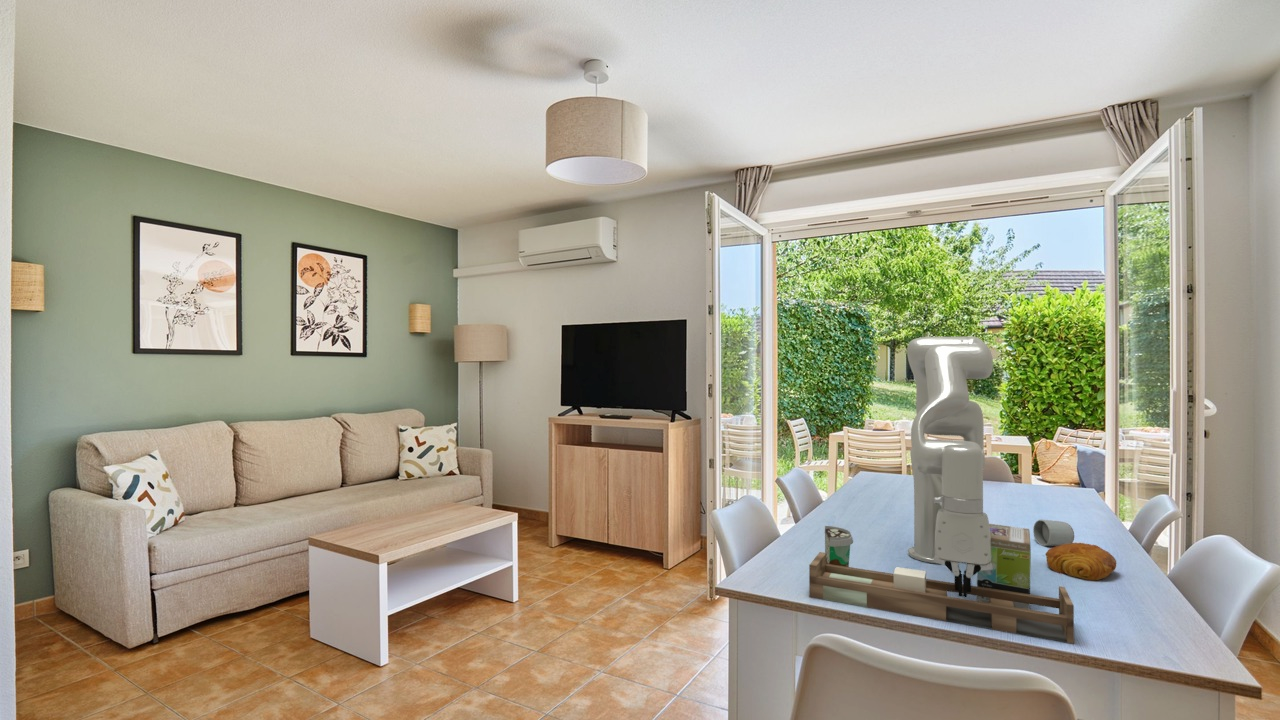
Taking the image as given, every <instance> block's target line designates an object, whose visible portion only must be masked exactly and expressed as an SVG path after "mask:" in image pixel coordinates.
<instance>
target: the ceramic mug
mask: <svg viewBox="0 0 1280 720" xmlns="http://www.w3.org/2000/svg"><path fill="white" fill-rule="evenodd" d="M1032 531H1033V537H1034V540H1035V542H1037V544H1038V545H1039V546H1042V547H1056V546H1060V545H1062V544H1070V543H1074V540H1075V532H1074V528H1073V526H1071V524H1069V523H1067V522H1065V521H1061V520H1048V519H1038V520H1036V521H1035V523H1034V525H1033V530H1032Z"/></svg>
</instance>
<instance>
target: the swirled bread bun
mask: <svg viewBox="0 0 1280 720" xmlns="http://www.w3.org/2000/svg"><path fill="white" fill-rule="evenodd" d="M1045 556H1046V557H1045V559H1046V565H1047V566H1048V567H1049V568H1050V569H1051V570H1052V571H1054V572H1057V574H1061V575H1067V576H1069V577H1074V578H1077V579H1082V580H1086V581H1092V582H1093V581H1099V580H1102V579H1105V578H1108V576H1109V575H1111V574H1112V572H1114V571H1115V570H1116V568H1117V560H1116V557H1114V556H1113V555H1112V554H1111V552H1108V551H1106V550H1105V549H1103V548H1102V547H1100V546H1098V545H1096V544H1090V543H1084V542H1073V543H1070V544H1062V545H1060V546H1052V547H1051V548H1048V550H1047V551H1046V553H1045Z"/></svg>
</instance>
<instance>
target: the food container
mask: <svg viewBox="0 0 1280 720" xmlns="http://www.w3.org/2000/svg"><path fill="white" fill-rule="evenodd" d="M853 543H854V539H853V535H852V532H851V531H850V530H848V529H846V528H842V527H839V526H832V525H824V550H825V552H824V553H826V564H832V565H838V566H845V567H850V556H851V555H850V551H851V545H852V544H853Z"/></svg>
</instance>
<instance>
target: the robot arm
mask: <svg viewBox="0 0 1280 720" xmlns="http://www.w3.org/2000/svg"><path fill="white" fill-rule="evenodd" d="M906 353H907V355H906V356H907V360H908V364H909V367H910V370H911V372H912V375H913V377H914V381H915V383H916V384H915V386H916V387H915V388H916V390H915V391H916V402H915V403H916V405H915V406H916V408H915V413H916V414H915V417H914V418H913V422H912V423H911V430H910V443H911V445H910V453H909V454H910V455H909V456H910V462H911V468H912V475H913V477H912V478H913V505H914V506H913V507H914V508H913V515H914V516H913V518H914V519H913V522H914V523H913V525H914V526H913V529H914V531H913V532H914V533H913V535H914V537H913V538H914V541H913V542H914V543H913V545H914V546H913V547H909V548H908V550H907V554H908V556H909V557H911V558H913V559H915V560H918V561H921V562H924V563H925V562H926V563H932V564H936V565H937V564H938V565H942V566H945V567H946V568H947V569H948V570H949V571H950V572H951V573H952V574H953V576H954V583H955V590H957V591H958V593H957V595H958V597H964V598H968V594H967V592H970V593H971V586H972V578H973V577H974V575H976V574H977V572H979V571H981V570H982V571H983V570H992V569H993V566H992V562H991V537H990V526H989V524H990V522H989V517H988V515H987V513H986V512H984V469H985V465H986V456H985V455H986V454H985V451H984V442H985V441H984V437H985V436H984V435H985V433H984V428H985V427H984V414H983V410H982V408H981V406H980V405H979V404H978V403H977V402H975V401H973V400H970V395H969V389H968V388H969V387H968V382H967V380H986V379H988V378H990V376H991V375H992V373H993V370H994V369H993V368H994V359H993V354H992V352H991V350H990V348H989V346H988V345H987V344H986V343H985V342H984V341H983V340H982V339H981V338H979V337H978V336H964V335H963V336H923V337H917V338H913V339H911V340H910V341H909V342H908V344H907V349H906ZM925 435H932V436H949V437H950V436H952V437H954V436H955V437H961V438H962V439H963V440H954V439H953V440H952V439H926V437H925ZM960 564H965V565H966V567H965V570H964V571H963V572H964V573H963V574H962V570H961V569H960V566H959V565H960ZM962 584H963V593H962Z"/></svg>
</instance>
